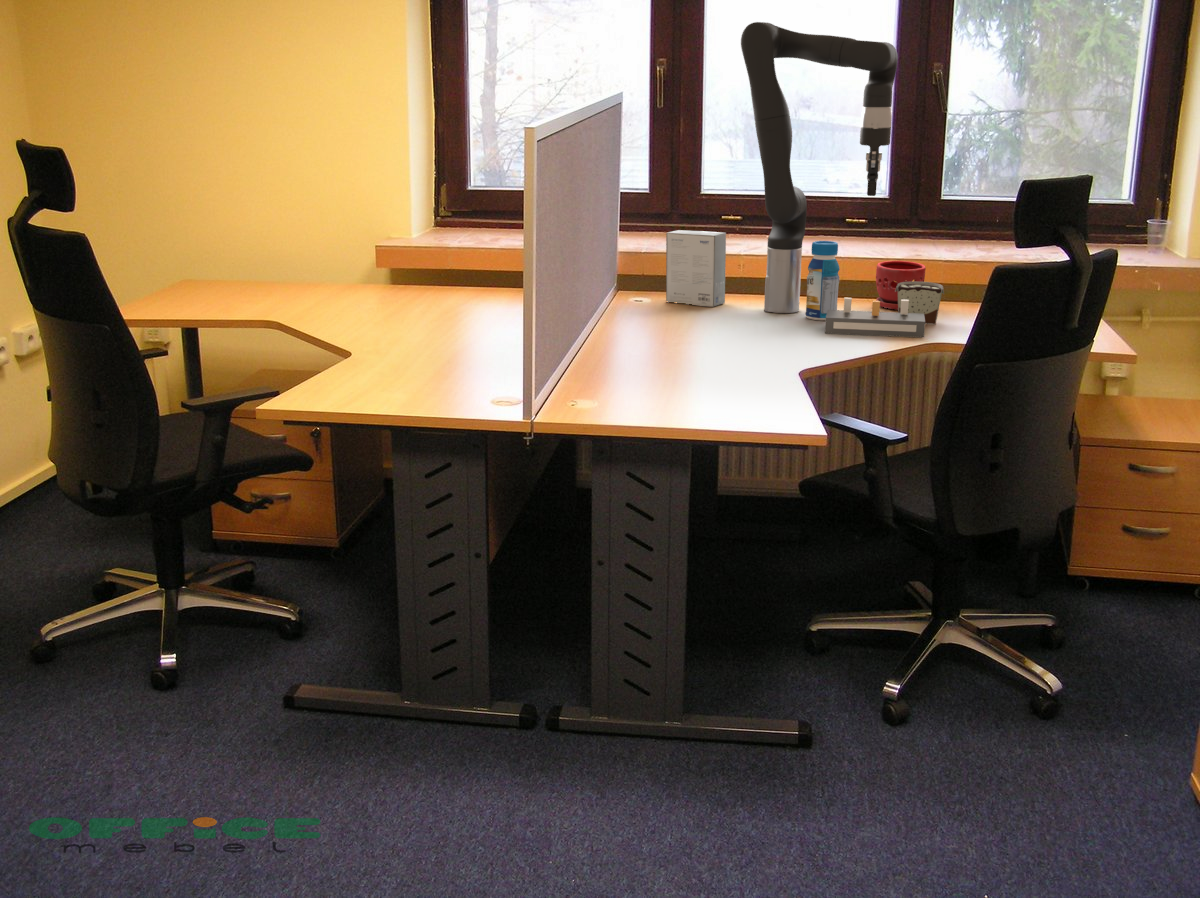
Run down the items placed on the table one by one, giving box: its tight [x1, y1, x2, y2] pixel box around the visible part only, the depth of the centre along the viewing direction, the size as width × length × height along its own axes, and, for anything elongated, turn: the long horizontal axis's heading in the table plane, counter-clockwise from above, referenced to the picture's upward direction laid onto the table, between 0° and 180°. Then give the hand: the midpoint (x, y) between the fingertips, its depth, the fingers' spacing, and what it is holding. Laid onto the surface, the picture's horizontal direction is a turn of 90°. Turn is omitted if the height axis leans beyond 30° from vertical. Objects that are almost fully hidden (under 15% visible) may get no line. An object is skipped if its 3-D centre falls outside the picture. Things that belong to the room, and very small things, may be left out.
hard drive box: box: [665, 229, 727, 308], centre depth 328 cm, size 16×8×20 cm, turn 58°
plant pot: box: [875, 260, 927, 311], centre depth 322 cm, size 13×13×12 cm
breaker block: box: [824, 309, 926, 338], centre depth 294 cm, size 24×10×4 cm, turn 77°
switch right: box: [900, 300, 909, 315], centre depth 293 cm, size 2×1×4 cm
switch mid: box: [871, 300, 881, 316], centre depth 292 cm, size 2×1×4 cm
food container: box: [895, 280, 945, 326], centre depth 304 cm, size 12×6×10 cm, turn 71°
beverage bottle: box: [805, 240, 840, 322], centre depth 307 cm, size 8×8×20 cm
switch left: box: [843, 297, 853, 312], centre depth 296 cm, size 2×1×4 cm
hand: (871, 195), depth 300 cm, fingers closed
